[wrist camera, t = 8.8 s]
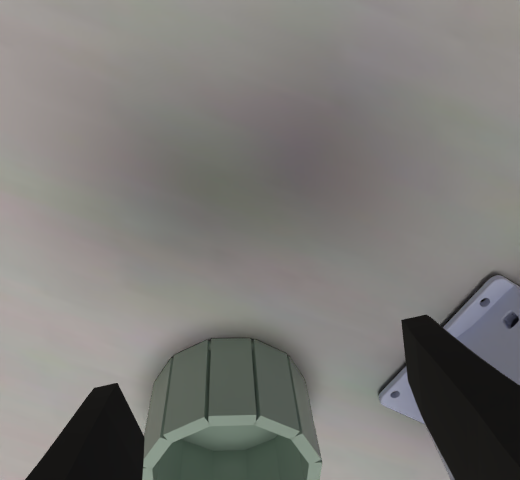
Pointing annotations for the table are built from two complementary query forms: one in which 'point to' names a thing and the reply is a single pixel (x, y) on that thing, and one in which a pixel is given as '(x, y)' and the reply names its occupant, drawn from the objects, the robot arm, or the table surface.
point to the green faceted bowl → (230, 416)
